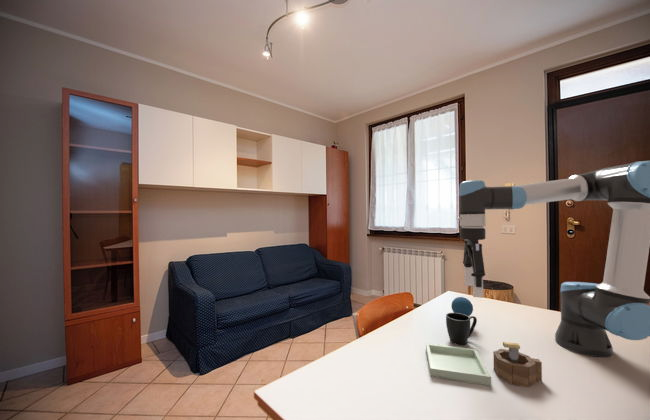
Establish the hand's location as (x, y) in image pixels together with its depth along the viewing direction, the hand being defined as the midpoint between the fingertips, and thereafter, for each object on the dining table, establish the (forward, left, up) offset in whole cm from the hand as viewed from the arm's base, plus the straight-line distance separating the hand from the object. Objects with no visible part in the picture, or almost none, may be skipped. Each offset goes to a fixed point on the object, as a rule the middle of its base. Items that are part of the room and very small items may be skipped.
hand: (473, 291), depth 91 cm
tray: (+7, +6, -23) cm, 24 cm away
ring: (-9, +7, -23) cm, 25 cm away
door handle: (-9, +7, -23) cm, 25 cm away
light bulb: (-2, -29, -23) cm, 37 cm away
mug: (+1, -13, -23) cm, 26 cm away
